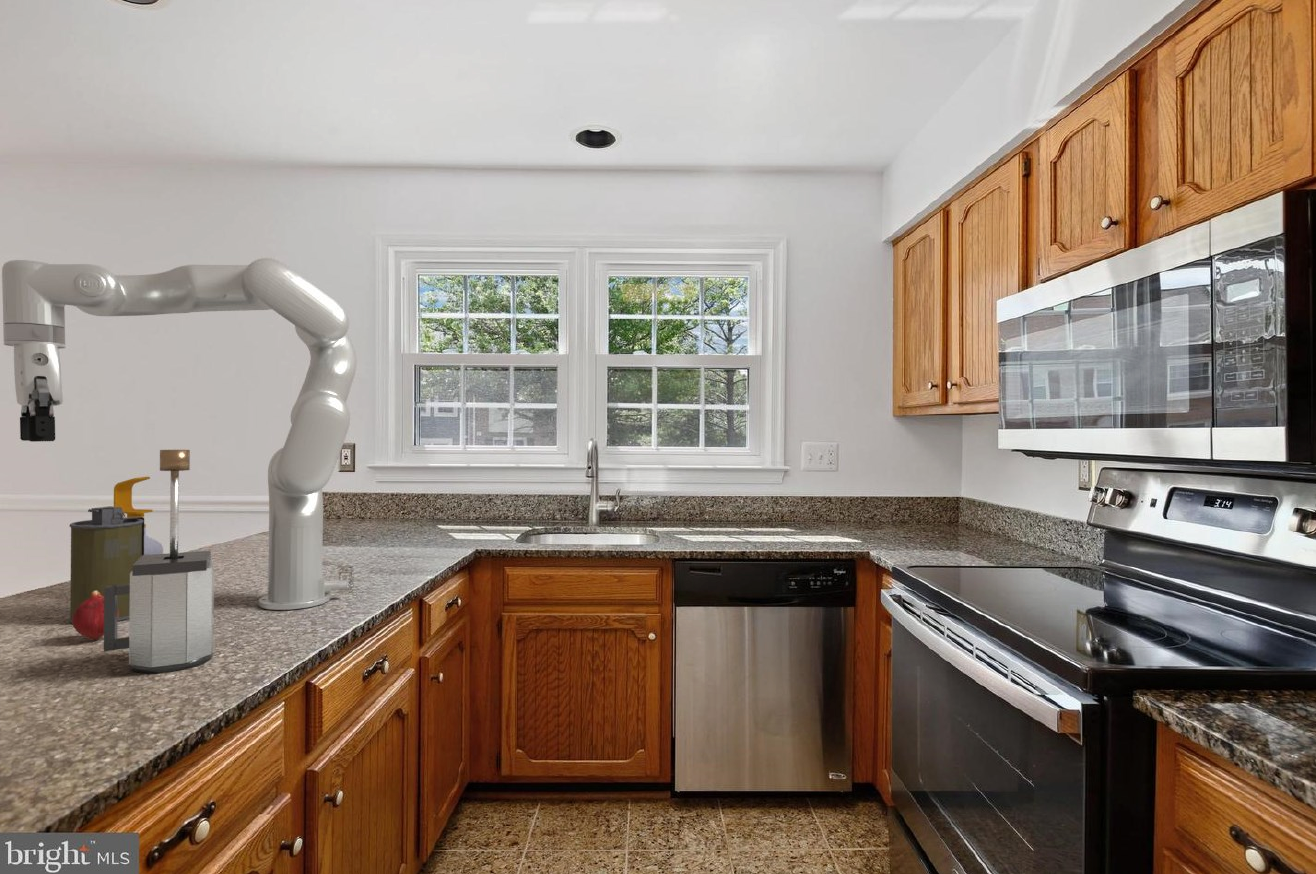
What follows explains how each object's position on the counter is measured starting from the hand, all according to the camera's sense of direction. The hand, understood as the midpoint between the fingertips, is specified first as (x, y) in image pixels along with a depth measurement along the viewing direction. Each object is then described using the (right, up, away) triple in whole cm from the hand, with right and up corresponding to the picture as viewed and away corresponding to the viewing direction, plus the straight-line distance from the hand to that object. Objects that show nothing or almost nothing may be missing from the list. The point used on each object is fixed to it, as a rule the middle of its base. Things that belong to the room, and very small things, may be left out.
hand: (37, 440), depth 112 cm
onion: (+12, -33, -2) cm, 35 cm away
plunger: (+31, -21, -12) cm, 39 cm away
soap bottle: (-3, -32, +24) cm, 40 cm away
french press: (+30, -33, -13) cm, 46 cm away
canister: (+3, -32, +11) cm, 34 cm away
